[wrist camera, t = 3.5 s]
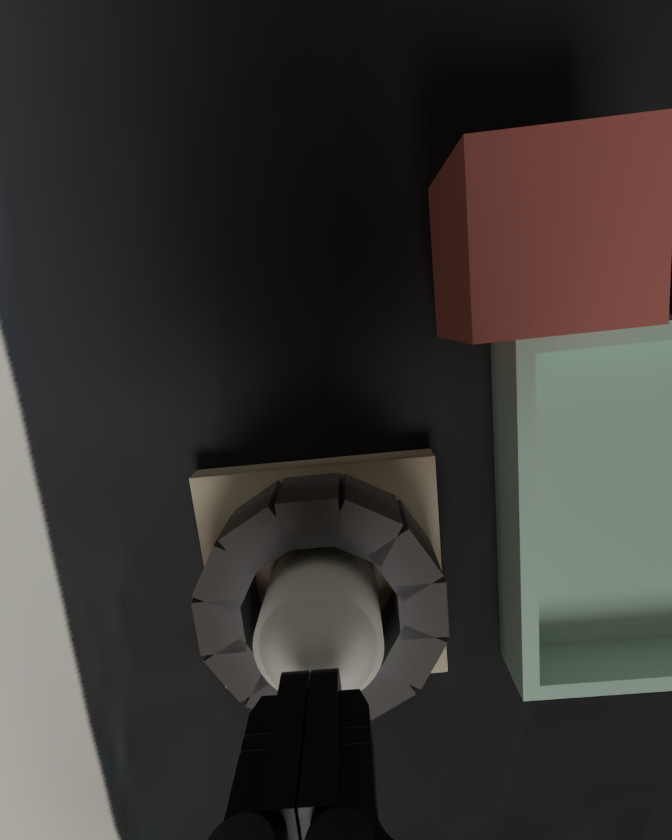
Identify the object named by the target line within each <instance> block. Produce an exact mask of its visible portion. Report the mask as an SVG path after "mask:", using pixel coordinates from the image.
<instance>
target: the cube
mask: <svg viewBox="0 0 672 840" xmlns="http://www.w3.org/2000/svg"><path fill="white" fill-rule="evenodd" d="M428 195H429V212H430V229H431V246H432V262H433V279H434V296H435V313H436V329H437V337H440V338H445V339H449V340H454V341H459V342H463V343H468V344H483V343H493V342H502V341H512V340H521V339H531V338H541V337H550V336H560V335H569V334H579V333H589V332H598V331H608V330H617V329H627V328H636V327H646V326H656V325H665V324H669V304H670V280H671V256H672V109H665V110H657V111H649V112H641V113H632V114H624V115H616V116H608V117H600V118H591V119H583V120H575V121H567V122H558V123H550V124H542V125H534V126H526V127H517V128H509V129H501V130H493V131H485V132H476V133H468V134H463V136H462V137H461V139H460V140H459V142H458V143H457V145H456V146H455V148H454V150H453V151H452V153H451V154H450V156H449V157H448V159H447V160H446V162H445V163H444V165H443V166H442V168H441V170H440V171H439V173H438V174H437V176H436V177H435V179H434V180H433V182H432V183H431V185H430V186H429V188H428Z"/></svg>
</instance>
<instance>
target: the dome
mask: <svg viewBox="0 0 672 840" xmlns="http://www.w3.org/2000/svg"><path fill="white" fill-rule="evenodd" d="M253 654H254V658H255V662H256V664H257V667H258V669H259V670H260V672H261V674H262V675H263V677H264V678H265V679H266V681H267V682H268V683H269V684H270V685H271V686H272V687H274V688H275V689H276V690H277V691H278V687H279V682H280V676H281V673H282V672H291V671H304V670H310V673H311V670H316V669H330V668H339V672H340V680H341V688H342V690H351V689H360V690H361V691H362V690H363V689H364V688H365V687H366V686H368V685H369V684H370V682H371V681H372V680H373V679H374V678H375V676H376V674H377V673H378V671H379V669H380V667H381V664H382V661H383V656H384V637H383V629H382V621H381V613H380V604H379V596H378V588H377V582H376V578H375V575H374V573H373V571H372V569H371V567H370V566H369V564H368V563H367V562H366V561H365V559H363V558H360V557H358V556H355V555H353V554H351V553H348V552H346V551H344V550H341V549H339V548H336V547H334V546H330V547H318V548H307V549H295V550H290V551H289V552H288V553H286V554H285V555H284V556H283V557H282V558H281V559H280V560H279V561H278V563H277V564H276V565H275V567H274V569H273V571H272V573H271V576H270V579H269V582H268V586H267V589H266V593H265V596H264V600H263V603H262V607H261V610H260V614H259V617H258V621H257V624H256V628H255V631H254V636H253Z"/></svg>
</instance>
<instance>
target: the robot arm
mask: <svg viewBox="0 0 672 840" xmlns="http://www.w3.org/2000/svg"><path fill="white" fill-rule="evenodd" d="M208 840H394V839H392V838H391V837H390V836H389V835H388V834H387V833H386V832H385V830H384V829H383V827H382V826H381V824H380V822H379V819H378V808H377V794H376V778H375V762H374V750H373V740H372V730H371V720H370V710H369V704H368V702H367V701H366V699H365V697H364V695H363V694H362V692H361V690H360V689H351V690H342V688H341V680H340V672H339V668H330V669H316V670H311V673H310V670H304V671H291V672H282V673H281V676H280V682H279V687H278V693H277V695H270V696H261V698H260V699H259V701H258V702H257V703H256V705H255V706H254V708H253V709H252V711H251V712H250V714H249V718H248V722H247V726H246V731H245V737H244V739H243V743H242V747H241V753H240V756H239V760H238V764H237V768H236V773H235V777H234V781H233V785H232V789H231V793H230V798H229V802H228V806H227V810H226V814H225V818H224V821H223V822H222V823H221V824H220V825H219V826H218V827H217V828H216V829H215V830H214V831H213V832H212V834H211V835H210V837H209V838H208Z"/></svg>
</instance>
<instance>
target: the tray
mask: <svg viewBox="0 0 672 840" xmlns="http://www.w3.org/2000/svg"><path fill="white" fill-rule="evenodd" d="M490 344H491V375H492V406H493V437H494V468H495V499H496V530H497V561H498V592H499V623H500V652H501V654H502V657H503V659H504V661H505V663H506V665H507V667H508V669H509V672H510V674H511V676H512V678H513V680H514V682H515V684H516V687H517V689H518V691H519V693H520V695H521V697H522V700H523V701H535V700H549V699H563V698H577V697H591V696H605V695H619V694H633V693H647V692H662V691H672V315H669V324H665V325H656V326H646V327H636V328H627V329H617V330H608V331H598V332H589V333H579V334H569V335H560V336H550V337H541V338H531V339H521V340H512V341H502V342H493V343H490Z"/></svg>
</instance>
